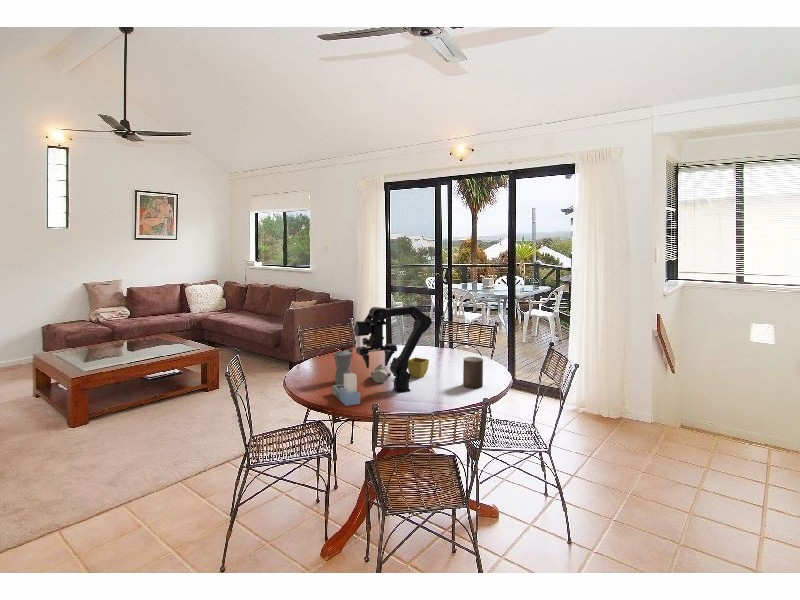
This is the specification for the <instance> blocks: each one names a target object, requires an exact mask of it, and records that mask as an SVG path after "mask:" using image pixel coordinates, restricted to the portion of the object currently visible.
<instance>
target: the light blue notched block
mask: <svg viewBox="0 0 800 600" xmlns="http://www.w3.org/2000/svg"><path fill="white" fill-rule="evenodd" d="M339 401H340V403H342V404H343V405H345V406H346V407H348V406H354V405H360V404H361V392H360V391H357V392H356V393H349V394H348V392H347V391H346V390H344V389H343V388H340V400H339Z"/></svg>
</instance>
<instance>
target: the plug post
mask: <svg viewBox="0 0 800 600" xmlns="http://www.w3.org/2000/svg"><path fill="white" fill-rule="evenodd" d="M357 383H358V377H357V374H356V373H354V372H351V373H347V374H344V390H346V391H347V392H348V394H349V393H356V392H358V388H357V387H358V384H357Z"/></svg>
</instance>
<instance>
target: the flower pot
mask: <svg viewBox="0 0 800 600" xmlns="http://www.w3.org/2000/svg"><path fill="white" fill-rule="evenodd" d="M429 363H430V359H428V358H427V359H426V358H421V357H412V358H411V359H410V358H409V361H408V368H407V372H408V373H409V374H410V375H411V377H412V378H417V379H421V378H423V377H424V376H425V375H426V374H427V371H428V369H429Z"/></svg>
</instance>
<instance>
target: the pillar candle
mask: <svg viewBox="0 0 800 600" xmlns="http://www.w3.org/2000/svg"><path fill="white" fill-rule="evenodd" d="M462 365H463V366H462V367H463V370H462V371H463V374H462V375H463V378H462V379H463V380H462V384H463V387H464V388H467V389H481V388H483V386H484V382H483V381H484V359H483V358H482V357H479V356H467V357H464V358H463V364H462Z"/></svg>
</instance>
